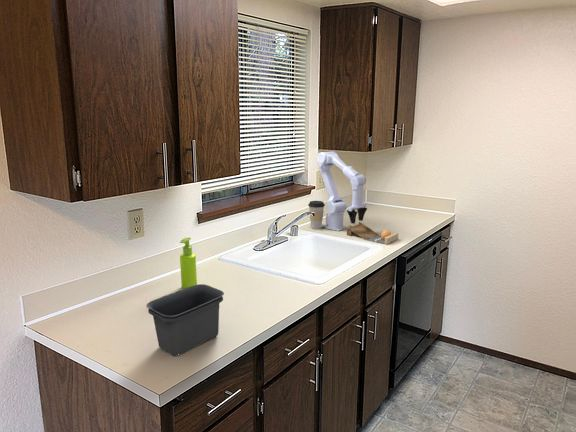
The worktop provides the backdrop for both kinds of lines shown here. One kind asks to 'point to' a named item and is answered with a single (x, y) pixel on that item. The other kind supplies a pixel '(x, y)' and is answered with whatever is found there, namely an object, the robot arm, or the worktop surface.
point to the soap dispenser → (188, 265)
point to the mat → (380, 240)
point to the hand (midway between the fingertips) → (356, 221)
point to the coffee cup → (316, 213)
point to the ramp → (361, 231)
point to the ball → (385, 234)
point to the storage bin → (186, 317)
